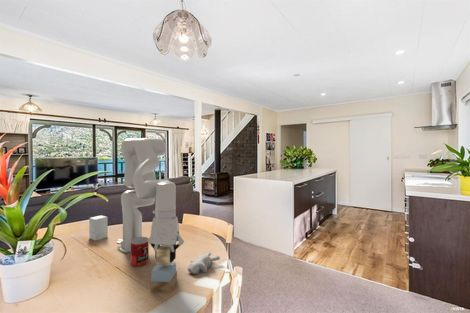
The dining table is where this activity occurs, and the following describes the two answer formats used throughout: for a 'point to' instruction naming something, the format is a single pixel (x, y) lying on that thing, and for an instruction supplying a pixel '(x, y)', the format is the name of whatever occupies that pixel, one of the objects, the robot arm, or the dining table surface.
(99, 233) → the supplement box
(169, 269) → the tower top block
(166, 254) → the maple block
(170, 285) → the tower base block
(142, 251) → the canned food
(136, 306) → the dining table surface
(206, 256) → the white figure shaped piece
